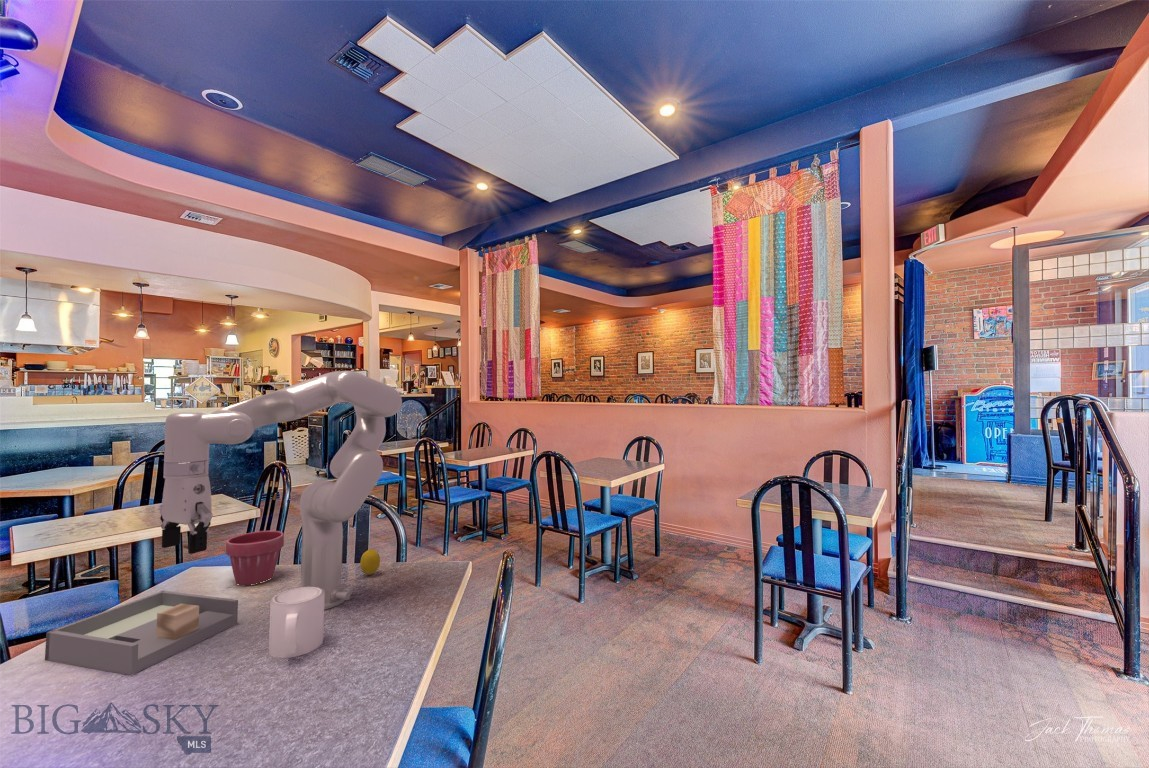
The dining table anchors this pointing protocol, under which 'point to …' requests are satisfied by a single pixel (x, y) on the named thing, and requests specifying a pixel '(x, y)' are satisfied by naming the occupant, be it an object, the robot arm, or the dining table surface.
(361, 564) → the lemon
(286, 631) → the mug
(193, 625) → the maple block
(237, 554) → the plant pot
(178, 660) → the dining table surface
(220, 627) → the box
